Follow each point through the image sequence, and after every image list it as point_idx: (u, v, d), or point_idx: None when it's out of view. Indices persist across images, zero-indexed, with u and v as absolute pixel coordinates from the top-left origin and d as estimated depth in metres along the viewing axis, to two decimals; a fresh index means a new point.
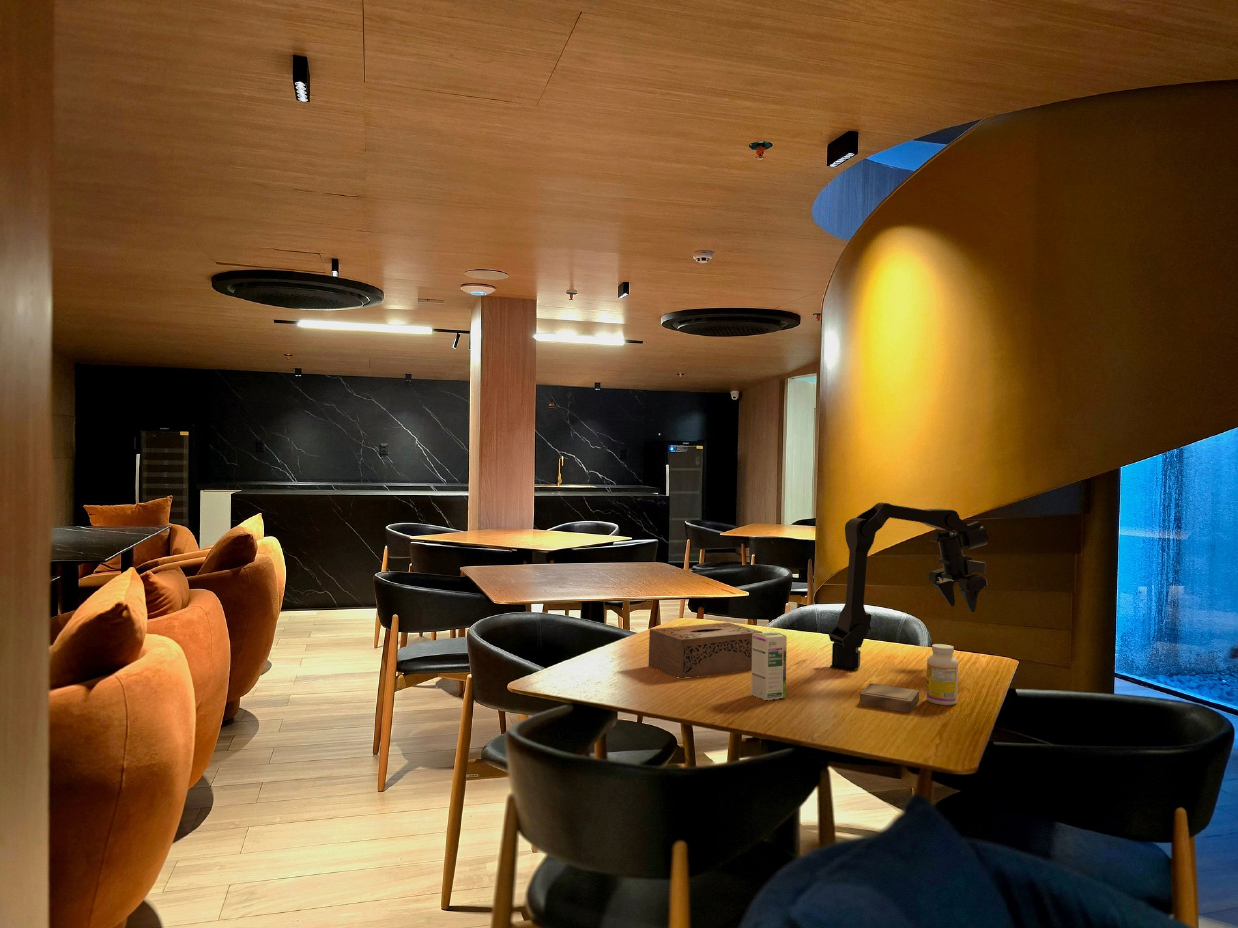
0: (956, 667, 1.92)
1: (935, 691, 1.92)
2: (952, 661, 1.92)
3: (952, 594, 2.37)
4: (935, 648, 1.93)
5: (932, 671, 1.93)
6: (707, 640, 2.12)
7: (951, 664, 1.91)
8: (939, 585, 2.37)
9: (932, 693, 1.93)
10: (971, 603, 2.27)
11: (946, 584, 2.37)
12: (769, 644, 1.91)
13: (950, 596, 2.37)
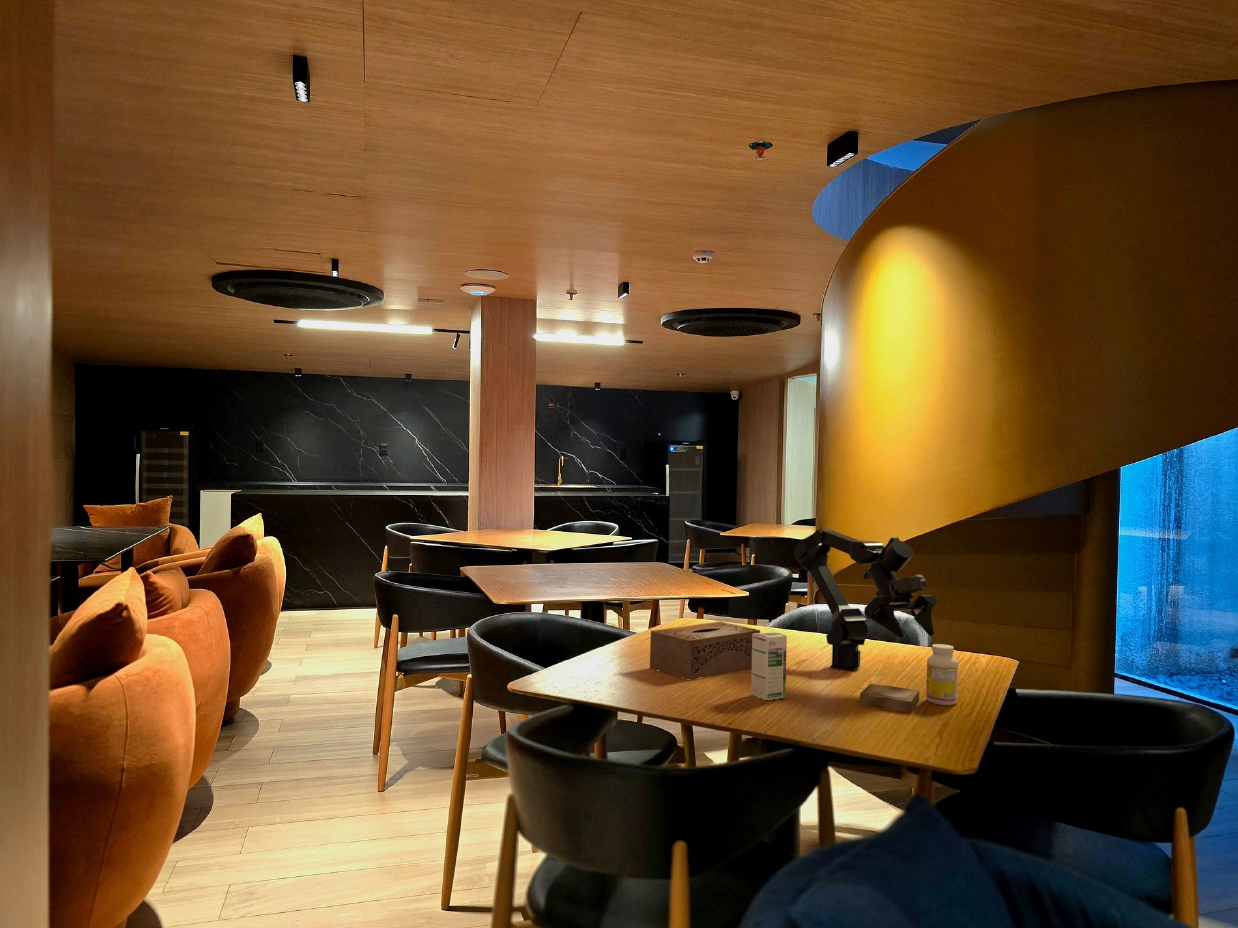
0: (956, 667, 1.92)
1: (935, 691, 1.92)
2: (952, 661, 1.92)
3: (927, 622, 2.05)
4: (935, 648, 1.93)
5: (932, 671, 1.93)
6: (712, 640, 2.12)
7: (951, 664, 1.91)
8: (915, 618, 2.10)
9: (932, 693, 1.93)
10: (892, 629, 2.02)
11: (920, 614, 2.08)
12: (769, 644, 1.91)
13: (926, 625, 2.06)
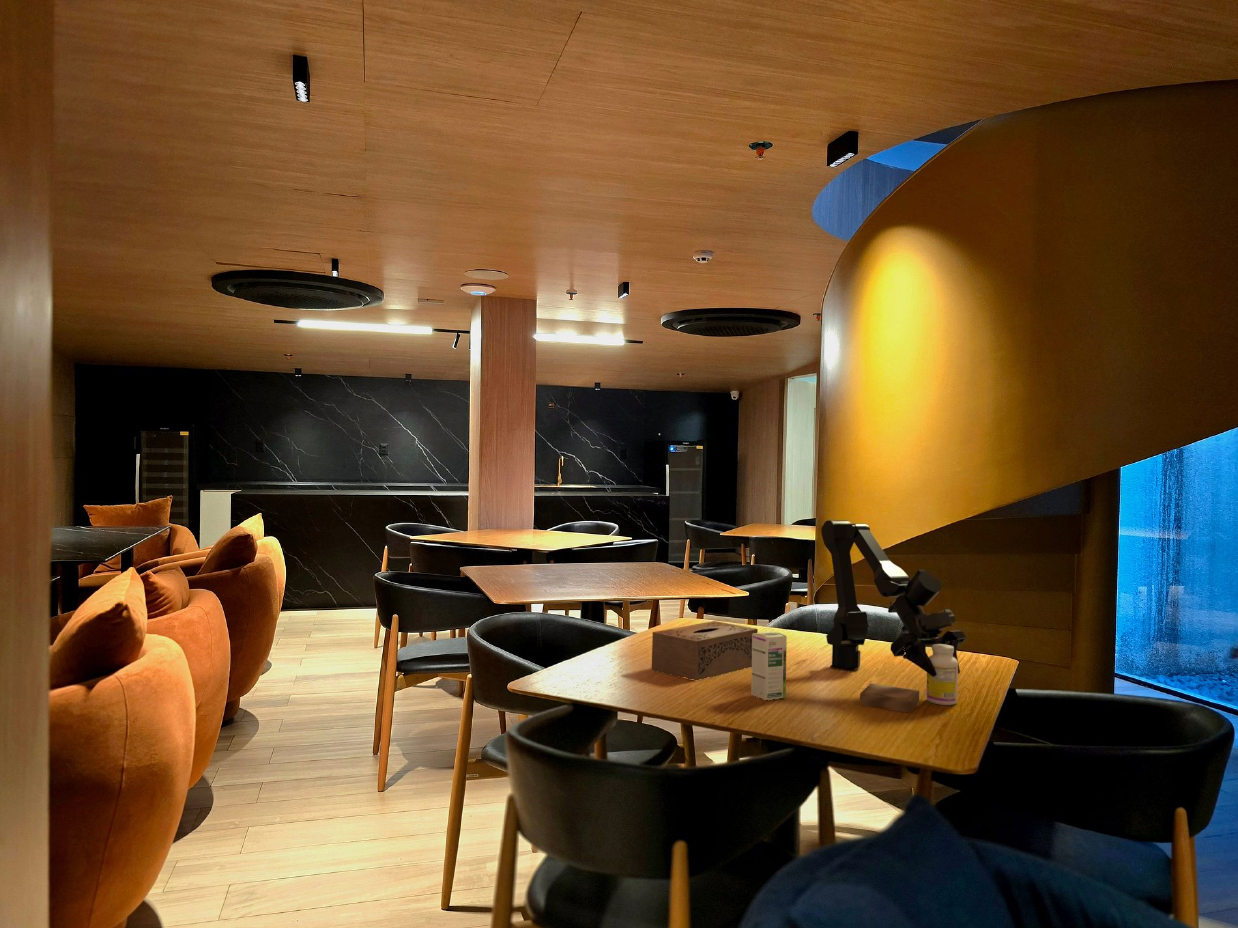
0: (956, 667, 1.92)
1: (935, 691, 1.92)
2: (952, 661, 1.92)
3: None
4: (935, 648, 1.93)
5: None
6: (716, 640, 2.13)
7: (952, 664, 1.91)
8: None
9: (932, 693, 1.93)
10: (924, 667, 1.93)
11: None
12: (769, 644, 1.91)
13: None
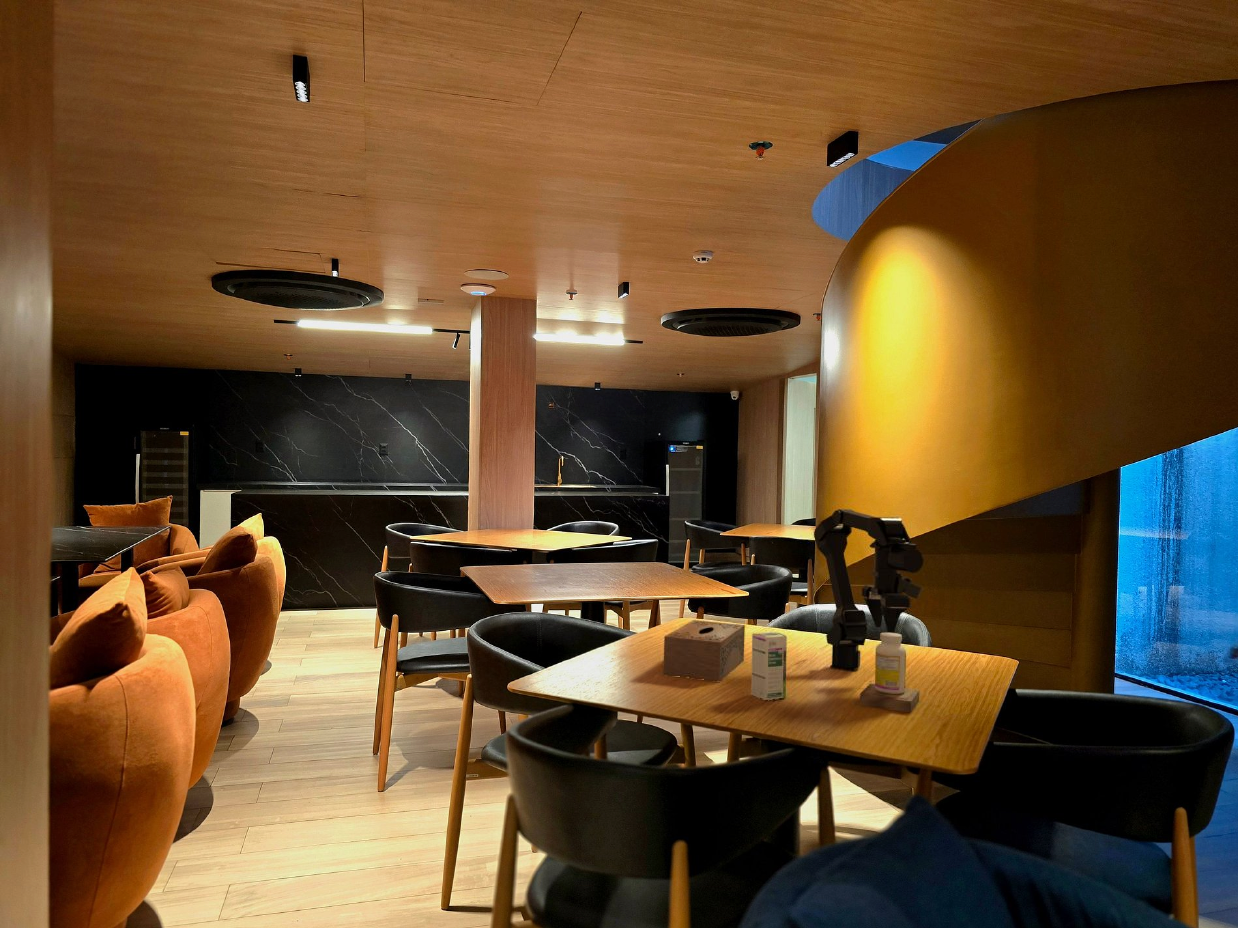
0: (900, 656, 1.89)
1: (878, 679, 1.91)
2: (895, 649, 1.89)
3: (880, 614, 2.15)
4: (881, 636, 1.92)
5: (876, 658, 1.92)
6: (728, 639, 2.14)
7: (894, 652, 1.89)
8: (868, 600, 2.15)
9: (876, 681, 1.92)
10: (890, 623, 2.05)
11: (876, 602, 2.15)
12: (769, 644, 1.91)
13: (877, 615, 2.15)
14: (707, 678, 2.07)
